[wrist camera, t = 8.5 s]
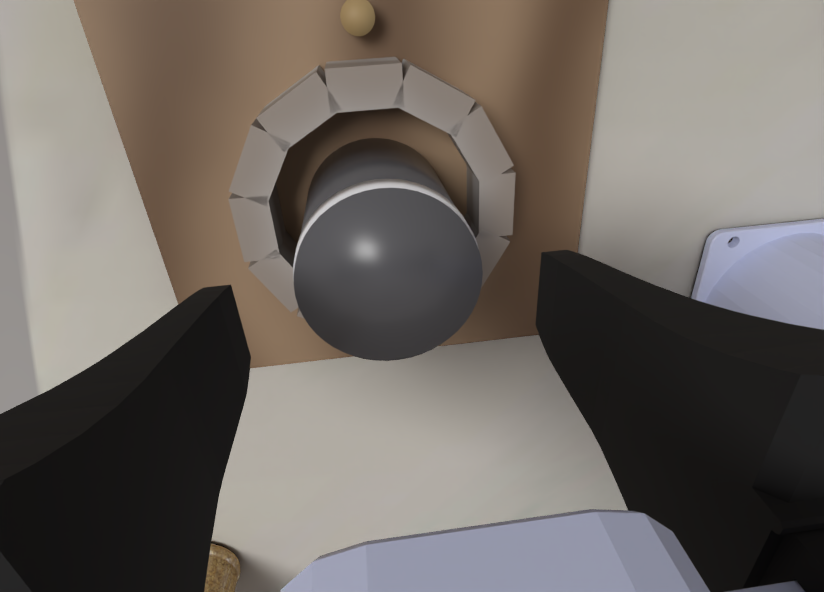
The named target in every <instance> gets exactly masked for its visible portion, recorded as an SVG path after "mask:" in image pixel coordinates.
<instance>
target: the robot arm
mask: <svg viewBox="0 0 824 592" xmlns="http://www.w3.org/2000/svg"><path fill="white" fill-rule="evenodd" d="M732 237H733V239H732V241H731V242H730V243H728V241H729V240H730V239H731V238H732ZM535 325H536V328H537V330H538V333H539V335H540V338H541V341H542V343H543V346H544V348H545V350H546V353H547V355H548V357H549V359H550V361H551V363H552V364H553V366H554V368H555V370H556V371H557V373H558V375H559V376H560V378H561V380H562V382H563V383H564V385H565V387H566V388H567V390H568V392H569V393H570V395H571V397H572V398H573V400H574V402H575V403H576V405H577V407H578V408H579V410H580V412H581V413H582V415H583V417H584V418H585V420H586V422H587V423H588V425H589V427H590V428H591V430H592V432H593V434H594V436H595V438H596V439H597V441H598V443H599V445H600V447H601V449H602V451H603V454H604V456H605V458H606V460H607V462H608V465H609V467H610V469H611V471H612V474H613V476H614V478H615V480H616V482H617V485H618V487H619V489H620V492H621V494H622V497H623V499H624V501H625V504H626V506H627V508H628V511H623V510H596V509H589V510H582V511H575V512H568V513H561V514H554V515H547V516H540V517H533V518H526V519H519V520H512V521H505V522H498V523H491V524H485V525H478V526H471V527H464V528H457V529H450V530H443V531H436V532H429V533H422V534H415V535H408V536H401V537H394V538H387V539H380V540H373V541H366V542H363V543H360V544H357V545H354V546H350V547H347V548H344V549H341V550H338V551H335V552H331V553H328V554H325V555H322V556H320V557H318V558H317V559H316V560H314V561H313V562H312V563H311V564H310V565H309V566H307V567H306V568H305V569H304V570H303V571H302V572H300V573H299V574H298V575H297V576H296V577H295V578H294V579H292V580H291V581H290V582H289V583H288V584H287V585H285V586H284V587H283V588H282V589H281V592H824V219H814V220H805V221H795V222H785V223H776V224H766V225H757V226H747V227H737V228H728V229H719V230H716V231H714V232H713V233H711V234H710V235H709V237H708V238H707V241H706V244H705V248H704V251H703V255H702V259H701V263H700V266H699V270H698V274H697V278H696V281H695V285H694V289H693V293H692V297H691V298H688V297H685V296H682V295H680V294H677V293H674V292H672V291H669V290H666V289H663V288H661V287H658V286H655V285H653V284H650V283H648V282H645V281H643V280H641V279H638V278H636V277H633V276H631V275H629V274H626V273H624V272H622V271H619V270H617V269H615V268H612V267H610V266H608V265H606V264H603V263H601V262H599V261H596V260H594V259H592V258H589V257H587V256H584V255H582V254H579V253H576V252H573V251H570V250H558V251H549V252H541V263H540V275H539V287H538V299H537V311H536V323H535ZM250 363H251V355H250V352H249V348H248V344H247V341H246V337H245V333H244V330H243V326H242V323H241V319H240V315H239V312H238V308H237V304H236V301H235V297H234V294H233V290H232V286H231V285H222V286H213V287H204V288H202V289H200V290H198V291H197V292H195V293H194V294H192V295H191V296H189V297H188V298H187V299H185V300H184V301H183V302H181V303H180V304H179V305H177V306H176V307H175V308H173V309H172V310H171V311H169V312H168V313H167V314H165V315H164V316H163V317H161V318H160V319H159V320H157V321H156V322H155V323H153V324H152V325H151V326H149V327H148V328H147V329H145V330H144V331H143V332H141V333H140V334H138V335H137V336H136V337H134V338H133V339H131V340H130V341H128V342H127V343H125V344H124V345H122V346H121V347H120V348H118V349H117V350H115V351H114V352H112V353H111V354H109V355H108V356H107V357H105V358H103V359H102V360H100V361H99V362H97V363H96V364H94V365H92V366H91V367H89V368H87V369H86V370H84V371H82V372H81V373H79V374H77V375H75V376H74V377H72V378H70V379H68V380H67V381H65V382H63V383H61V384H60V385H58V386H56V387H54V388H52V389H50V390H49V391H47V392H45V393H43V394H41V395H38V396H36V397H34V398H32V399H30V400H29V401H27V402H24V403H22V404H20V405H18V406H16V407H14V408H12V409H10V410H8V411H6V412H4V413H2V414H0V592H204V589H205V582H206V575H207V568H208V561H209V554H210V547H211V540H212V534H213V527H214V521H215V515H216V509H217V503H218V497H219V493H220V489H221V484H222V480H223V476H224V473H225V469H226V466H227V462H228V459H229V455H230V452H231V448H232V445H233V441H234V438H235V434H236V431H237V427H238V424H239V420H240V416H241V413H242V409H243V406H244V402H245V398H246V394H247V387H248V380H249V372H250Z"/></svg>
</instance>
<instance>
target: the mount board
mask: <svg viewBox="0 0 824 592" xmlns="http://www.w3.org/2000/svg"><path fill="white" fill-rule="evenodd" d="M608 2H609V0H74V3H75V6H76V9H77V12H78V15H79V18H80V20H81V23H82V26H83V29H84V32H85V35H86V38H87V41H88V44H89V46H90V49H91V52H92V55H93V58H94V61H95V64H96V67H97V70H98V73H99V75H100V78H101V81H102V84H103V87H104V90H105V93H106V96H107V99H108V102H109V104H110V107H111V110H112V113H113V116H114V119H115V122H116V125H117V128H118V130H119V133H120V136H121V139H122V142H123V145H124V148H125V151H126V154H127V157H128V159H129V162H130V165H131V168H132V171H133V174H134V177H135V180H136V183H137V185H138V188H139V191H140V194H141V197H142V200H143V203H144V206H145V209H146V212H147V214H148V217H149V220H150V223H151V226H152V229H153V232H154V235H155V238H156V240H157V243H158V246H159V249H160V252H161V255H162V258H163V261H164V264H165V267H166V269H167V272H168V275H169V278H170V281H171V284H172V287H173V290H174V293H175V295H176V298H177V301H178V304H180V303H181V302H183V301H184V300H185V299H187V298H188V297H189V296H191V295H192V294H194V293H195V292H197V291H198V290H200V289H202V288H204V287H213V286H222V285H231V286H232V290H233V294H234V297H235V301H236V304H237V308H238V312H239V315H240V319H241V323H242V326H243V330H244V333H245V337H246V341H247V344H248V348H249V352H250V355H251V363H250V368H257V367H265V366H274V365H282V364H291V363H299V362H308V361H317V360H325V359H334V358H342V357H351V356H352V355H349V354H347V353H344V352H342V351H340V350H338V349H336V348H334V347H332V346H331V345H329V344H328V343H326V342H325V341H324V340H323V339H321V338H320V337H319V336H318V335H317V334H316V333H315V332H314V331H313V330H312V329H311V327H310V326H309V325H308V323H307V322H306V320H305V319H304V317H303V315H302V313H301V311H300V309H299V307H298V304H297V300H296V297H295V291H294V282H293V264H294V257H295V252H296V247H297V243H298V240H299V237H300V234H301V229H302V224H303V218H304V213H305V207H306V202H307V196H308V191H309V187H310V184H311V181H312V178H313V176H314V174H315V172H316V171H317V169H318V168H319V166H320V165H321V164H322V162H323V161H324V160H325V159H326V158H327V157H328V156H329V155H330V154H332V153H333V152H334V151H336V150H337V149H339V148H340V147H342V146H344V145H346V144H348V143H351V142H354V141H357V140H361V139H367V138H384V139H390V140H395V141H398V142H400V143H403V144H405V145H407V146H409V147H411V148H413V149H414V150H416V151H417V152H418V153H420V154H421V155H422V156H423V157H424V158H425V159H426V160H427V161H428V162H429V164H430V165H431V166H432V167H433V169H434V171H435V173H436V174H437V176H438V178H439V179H440V181H441V183H442V185H443V186H444V188H445V190H446V191H447V193H448V195H449V197H450V198H451V200H452V202H453V203H454V205H455V207H456V208H457V209H458V210H459V212H460V213H461V214H462V215H463V217H464V219H465V220H466V222H467V224H468V225H469V227H470V229H471V230H472V232H473V234H474V237H475V239H476V242H477V244H478V248H479V252H480V256H481V260H482V270H483V276H482V286H481V291H480V295H479V298H478V300H477V303H476V305H475V307H474V309H473V311H472V313H471V315H470V316H469V318H468V319H467V321H466V322H465V323H464V324H463V325H462V327H461V328H460V329H459V330H458V331H457V332H456V333H455V334H454V335H453V336H451V337H450V338H449V339H448V340H446V341H445V342H443V343H442V344H441V345H439V346H445V345H453V344H462V343H471V342H479V341H488V340H496V339H505V338H513V337H522V336H530V335H539V333H538V330H537V328H536V325H535V323H536V311H537V299H538V287H539V275H540V263H541V252H549V251H558V250H570V251H573V252H576V253H577V252H578V244H579V236H580V228H581V220H582V212H583V204H584V196H585V187H586V179H587V171H588V163H589V155H590V147H591V139H592V131H593V123H594V115H595V107H596V99H597V90H598V82H599V74H600V66H601V58H602V50H603V42H604V34H605V26H606V18H607V10H608Z"/></svg>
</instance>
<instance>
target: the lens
mask: <svg viewBox="0 0 824 592" xmlns="http://www.w3.org/2000/svg"><path fill="white" fill-rule="evenodd" d="M482 276H483V270H482V260H481V256H480V252H479V248H478V244H477V242H476V239H475V237H474V234H473V232H472V230H471V229H470V227H469V225H468V224H467V222H466V220H465V219H464V217H463V215H462V214H461V213H460V212H459V210H458V209H457V208H456V207H455V205H454V203H453V202H452V200H451V198H450V197H449V195H448V193H447V191H446V190H445V188H444V186H443V185H442V183H441V181H440V179H439V178H438V176H437V174H436V173H435V171H434V169H433V167H432V166H431V165H430V164H429V162H428V161H427V160H426V159H425V158H424V157H423V156H422V155H421V154H420V153H418V152H417V151H416V150H414V149H413V148H411V147H409V146H407V145H405V144H403V143H400V142H398V141H395V140H390V139H384V138H367V139H361V140H357V141H354V142H351V143H348V144H346V145H344V146H342V147H340V148H339V149H337V150H336V151H334V152H333V153H332V154H330V155H329V156H328V157H327V158H326V159H325V160H324V161H323V162H322V164H321V165H320V166H319V168H318V169H317V171H316V172H315V174H314V176H313V178H312V181H311V184H310V187H309V191H308V196H307V202H306V207H305V213H304V218H303V224H302V229H301V234H300V237H299V240H298V243H297V247H296V252H295V257H294V264H293V282H294V291H295V297H296V300H297V304H298V307H299V309H300V311H301V313H302V315H303V317H304V319H305V320H306V322H307V323H308V325H309V326H310V327H311V329H312V330H313V331H314V332H315V333H316V334H317V335H318V336H319V337H320V338H321V339H323V340H324V341H325V342H326V343H328V344H329V345H331V346H332V347H334V348H336V349H338V350H340V351H342V352H344V353H347V354H349V355H352V356H355V357H359V358H363V359H370V360H383V361H389V360H400V359H405V358H410V357H413V356H416V355H420V354H422V353H425V352H427V351H429V350H432V349H433V348H435V347H437V346H439V345H441V344H442V343H443V342H445V341H446V340H448V339H449V338H450V337H451V336H453V335H454V334H455V333H456V332H457V331H458V330H459V329H460V328H461V327H462V325H463V324H464V323H465V322H466V321H467V319H468V318H469V316H470V315H471V313H472V311H473V309H474V307H475V305H476V303H477V300H478V298H479V295H480V291H481V286H482Z"/></svg>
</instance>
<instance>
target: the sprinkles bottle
mask: <svg viewBox="0 0 824 592" xmlns="http://www.w3.org/2000/svg"><path fill="white" fill-rule="evenodd" d="M239 577H240V563H239V561H238V558H237V557H236V556H235V554H233V553H232V552H231V551H229V550H228V549H226V548H224V547H222V546H218V545H215V544H211V547H210V554H209V561H208V568H207V575H206V582H205V589H204V592H234V591H235V586H236V582H237V581H238V579H239Z"/></svg>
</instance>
